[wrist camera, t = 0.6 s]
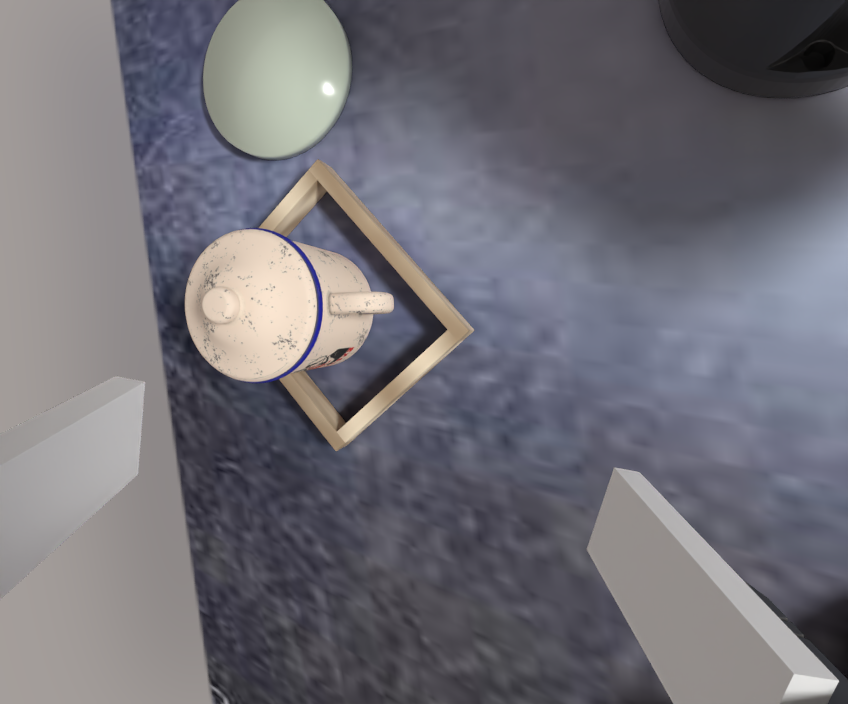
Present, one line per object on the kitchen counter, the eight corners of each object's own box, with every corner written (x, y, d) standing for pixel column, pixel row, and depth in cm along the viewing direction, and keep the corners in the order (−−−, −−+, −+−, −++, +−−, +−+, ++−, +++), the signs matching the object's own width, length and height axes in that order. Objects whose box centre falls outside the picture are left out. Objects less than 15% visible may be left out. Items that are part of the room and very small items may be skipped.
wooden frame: (331, 167, 35) (317, 158, 33) (474, 330, 33) (468, 331, 31) (224, 289, 39) (206, 287, 37) (348, 444, 37) (336, 451, 35)
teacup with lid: (273, 369, 38) (151, 390, 27) (267, 252, 37) (140, 225, 26) (418, 368, 35) (347, 392, 23) (414, 239, 34) (339, 201, 23)
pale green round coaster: (281, -43, 35) (273, -53, 34) (384, 66, 34) (379, 59, 33) (186, 87, 39) (176, 81, 38) (276, 193, 37) (268, 190, 36)
